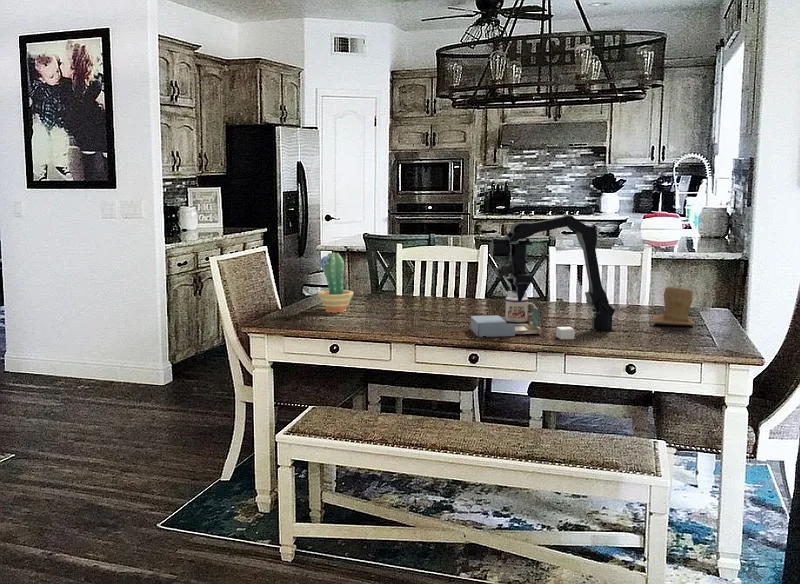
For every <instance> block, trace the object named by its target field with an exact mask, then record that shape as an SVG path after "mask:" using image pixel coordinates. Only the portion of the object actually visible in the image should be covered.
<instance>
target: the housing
mask: <svg viewBox="0 0 800 584" xmlns="http://www.w3.org/2000/svg"><path fill="white" fill-rule="evenodd" d="M470 330H471V331H472V332H473V333H474V334H475V335H476V337H478V338H479V337H482V338H484V337H483V336H486V337H515V336H516V334H515V323H508V321H506V316H499V315H471V316H470ZM486 337H485V338H486Z"/></svg>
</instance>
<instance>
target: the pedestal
mask: <svg viewBox="0 0 800 584" xmlns="http://www.w3.org/2000/svg"><path fill="white" fill-rule="evenodd" d="M555 336H556V338H558V339H559V340H574V339H575V328H573V327H572V326H556V335H555Z"/></svg>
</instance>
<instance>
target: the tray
mask: <svg viewBox="0 0 800 584" xmlns="http://www.w3.org/2000/svg"><path fill="white" fill-rule="evenodd" d="M532 311H533V314H532V321H529V323H516V324H515V323H514V324H515V335H526V334H528V335H531V334H536V335H537V334H539V335H541V334H542V328H541V327H540V326H539V308H538V307H536V306H535V307H534V306H532Z"/></svg>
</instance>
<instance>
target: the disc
mask: <svg viewBox="0 0 800 584" xmlns="http://www.w3.org/2000/svg"><path fill="white" fill-rule="evenodd" d="M527 293H528V292H527V291H526V292H525V294H524V296H523V297H527V295H528V294H527ZM507 297H515V298H518V297H517V290H507ZM527 298H528V297H527Z"/></svg>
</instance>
